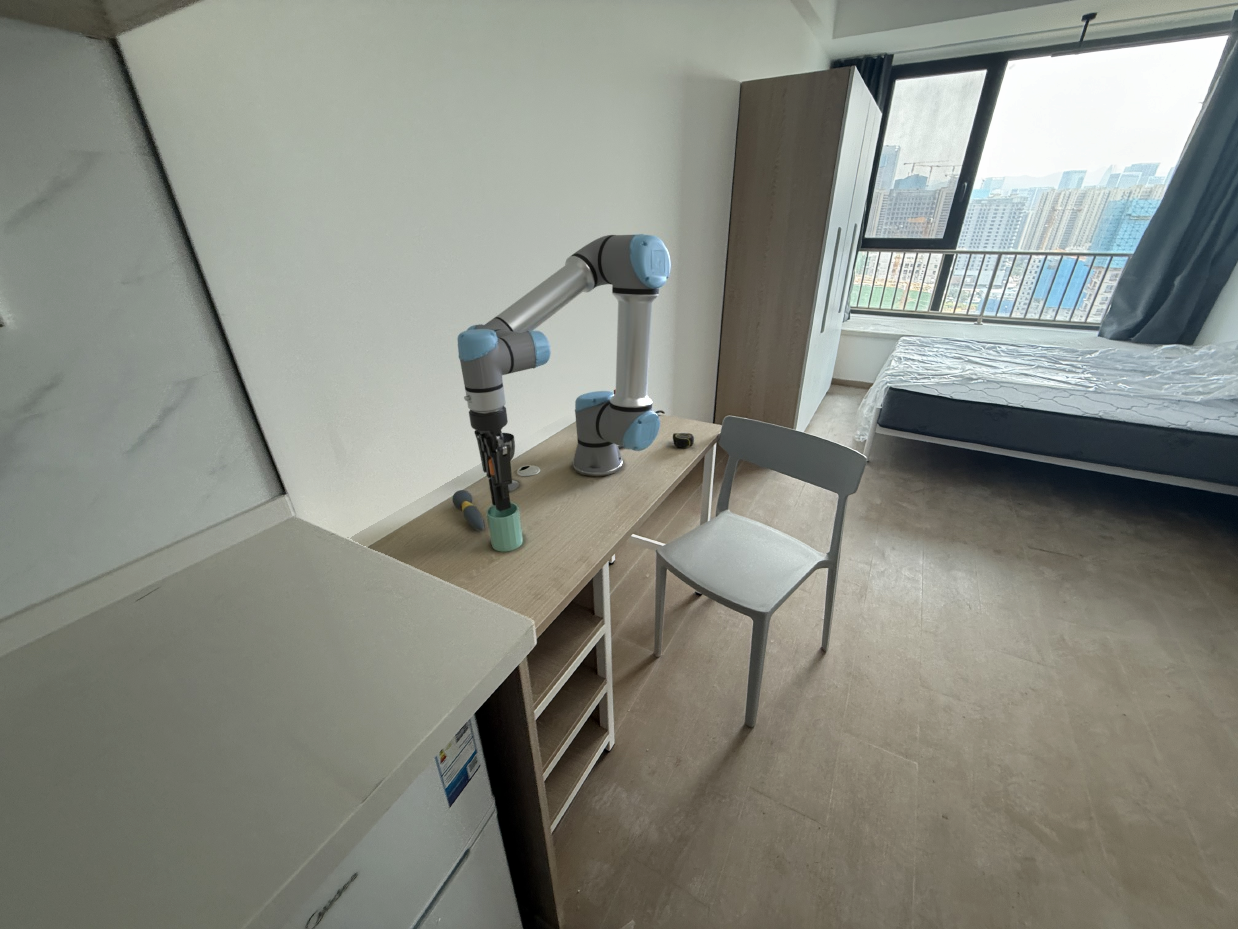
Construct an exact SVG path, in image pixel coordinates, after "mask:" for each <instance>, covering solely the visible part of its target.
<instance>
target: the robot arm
mask: <svg viewBox="0 0 1238 929" xmlns="http://www.w3.org/2000/svg"><path fill="white" fill-rule="evenodd" d="M670 273H671V258H670V253H669V250H668V248H667V246H666V245H665V243H664V242H663V240H662V239H660V238H659V237H658V236H655V235H651V234H644V233H637V234H607V235H604V236H600V237H598V238H596V239H594V240H592V241H590V242H589V243H587V244H585V245H584V246H583V247H581V248H580V249H578V250H577V251H575V252H574V253H573V254H571V255H570V256H568V257H567V258H566V260H565V262H564V265H563V266H562V267H560V268H559V269H558V270H557V271H555V272H554V273H553V274H551V275H550V276H549V277H547V278H545V280H543V281H542V282H540V283H539V284H538V285H536V286H535V287H534V288H532V289H531V290H530V291H529V292H527V293H525V295H522V296H521V297H520V298H518V299H517V300H516V301H515V302H514V303H512V304H511V305H510V306H508V307H507V308H505V309H504V310H503V311H501V312H500V313H499V314H497V315H496V316H494V317H493V318H492V319H490V320H489V321H488V322H486V323H485V324H482V323H478V324H473V325H470V326H469V327H468V328H467V329H466V330H464V331H462V332H460V333H459V334H458V335H457V339H456V340H457V351H458V359H459V362H460V368H461V373H462V380H463V385H464V391H465V395H464V397H463V399H464V401H466V403H467V408H468V409H469V410H468V417H469V423H470V427H471V428H472V429H473V430H474V431H473V432H474V436H475V439H476V441H477V442H476V443H477V446H478V451H479V457H480V462H481V466H482V471H483V473H485V474H486V477H487V478H488V486H489V492H490V498H491V504H492V505H494V506H495V499H494V492H493V486H494V487H495V490H496V497H497V503H498V510H499V511H503V510H506V509H509V508H511V503H510V502H511V498H510V491H509V489H508V485H509V484H512V480H513V475H512V463H511V462H512V460H511V461H510V451H511V447H510V445H509V444H507V445H505V444H504V436H503V434H502V433H503V431H502V429H503V428H505V427H506V426H507V424H508V422H509V420H508V413H507V407H506V396H505V387H504V382H503V376H505V375H509V374H514V373H518V372H523V371H527V370H531V369H536V368H538V367H542V366H544V365H546V364H547V363H548V362H549V361H550V358H551V353H552V352H551V344H550V341H549V340H548V337H547V336H546V334H544V333H543V332H542V331H540V330H536V329H537V328H538V327H540V326H541V325H542V324H544V323H545V322H546V321H547V320H549V319H550V318H551V317H552V316H554V315H555V314H556V313H558V312H559V311H560V310H562V309H563V308H564V307H565V306H567V305H568V304H569V303H571V302H572V301H573V300H575V299H576V298H578V296H580V295H581V294H583V293H590V292H592V291H593V290H595V289H596V288H597V287H600V286H604V285H605V286H606V285H612V286H611V288H612V289H611V291H612V292H611V294H612V296H613V297H614V298H615V299H616V300H617V325H616V326H617V327H616V332H617V333H616V358H615V359H616V361H615V364H616V365H615V389H616V393H615V395H614V391H610V390H596V391H590V392H586V393H582V394H580V395H578V396H577V397H576V399H575V402H574V407H575V408H574V413H575V415H574V416H575V425H576V426H575V427H576V428H575V429H576V439H577V444H576V449H575V453H574V456H573V458H572V468H573V470H574V471H575V472H576V473H578V474H579V475H583V476H587V477H604V476H605V477H606V476H609V475H613V474H615V473H617V472H619V471H620V470H621V469H622V468H623V456H622V454H621V451H620V449H622V448H624V449H625V450H631V451H634V452H642V451H645V450H646V449H648V448H649V447H651V445H652V444H653V443H654V441H655V440H656V438H657V437H658V434H659V431H660V427H661V418H660V416H659V415H658V414H660V413H661V414H662V415H664V414H666V412H665V411H664V410H662V409H661V410H660V409H659V410H656V411H654V410H653V399H652V398H650V397H649V395H648V387H649V385H648V384H649V369H650V366H649V365H650V351H651V350H650V348H651V333H652V332H651V329H652V312H653V302H654V301H655V300H656V299H657V298H658V297H659V295H660V288H662V287H663V286H665V284H666V283H667V280H668V279H669V277H670ZM490 459H492V464H493V469H494V474H495V479H496V483H495V484H493V486H492V479H491V474H490V468H489V462H488V461H489V460H490Z"/></svg>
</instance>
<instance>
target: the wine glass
mask: <svg viewBox="0 0 1238 929" xmlns="http://www.w3.org/2000/svg"><path fill="white" fill-rule="evenodd" d="M502 434H503V436H504V444H505V445H507V444H509V445H510V447H511V451H510V461H511V462H512V460H513V458H514V456H515V453H516V440H515V435H514V434H513V433H510V432H502ZM519 487H520V484H519V482H518V481H516V480H513V479H512V484H509V485H508V489H509V492H512V491H515V490H517V489H518V488H519Z"/></svg>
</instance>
